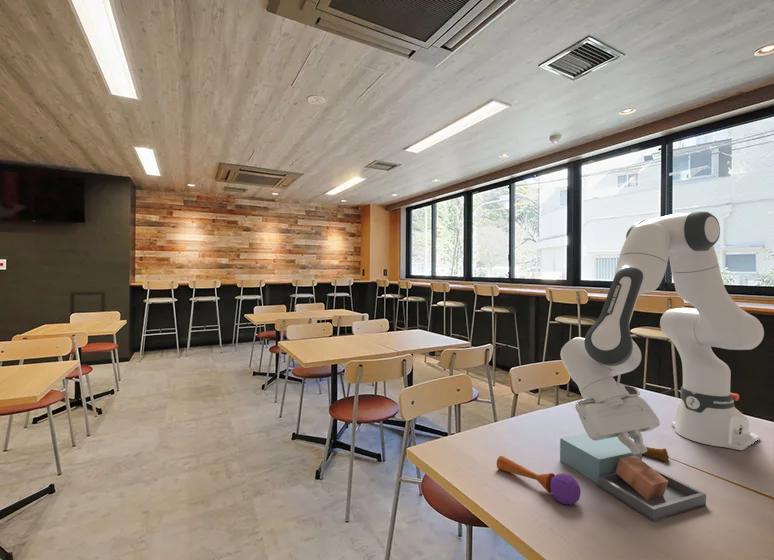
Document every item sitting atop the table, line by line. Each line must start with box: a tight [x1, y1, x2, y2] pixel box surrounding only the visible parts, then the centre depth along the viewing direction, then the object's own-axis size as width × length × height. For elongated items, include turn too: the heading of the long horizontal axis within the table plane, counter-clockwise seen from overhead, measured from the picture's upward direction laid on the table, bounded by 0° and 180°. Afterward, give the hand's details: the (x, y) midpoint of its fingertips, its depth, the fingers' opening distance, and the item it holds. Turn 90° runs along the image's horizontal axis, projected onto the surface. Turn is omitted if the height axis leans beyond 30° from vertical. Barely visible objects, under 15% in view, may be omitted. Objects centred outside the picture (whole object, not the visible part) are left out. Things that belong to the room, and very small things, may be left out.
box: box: [597, 466, 707, 522], centre depth 84 cm, size 16×13×2 cm
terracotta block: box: [615, 455, 668, 500], centre depth 85 cm, size 5×4×8 cm
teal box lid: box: [559, 433, 643, 485], centre depth 96 cm, size 14×12×6 cm
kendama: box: [496, 455, 582, 505], centre depth 88 cm, size 6×6×20 cm
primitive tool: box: [642, 446, 670, 463], centre depth 106 cm, size 19×6×4 cm, turn 49°
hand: (640, 453), depth 86 cm, fingers closed
